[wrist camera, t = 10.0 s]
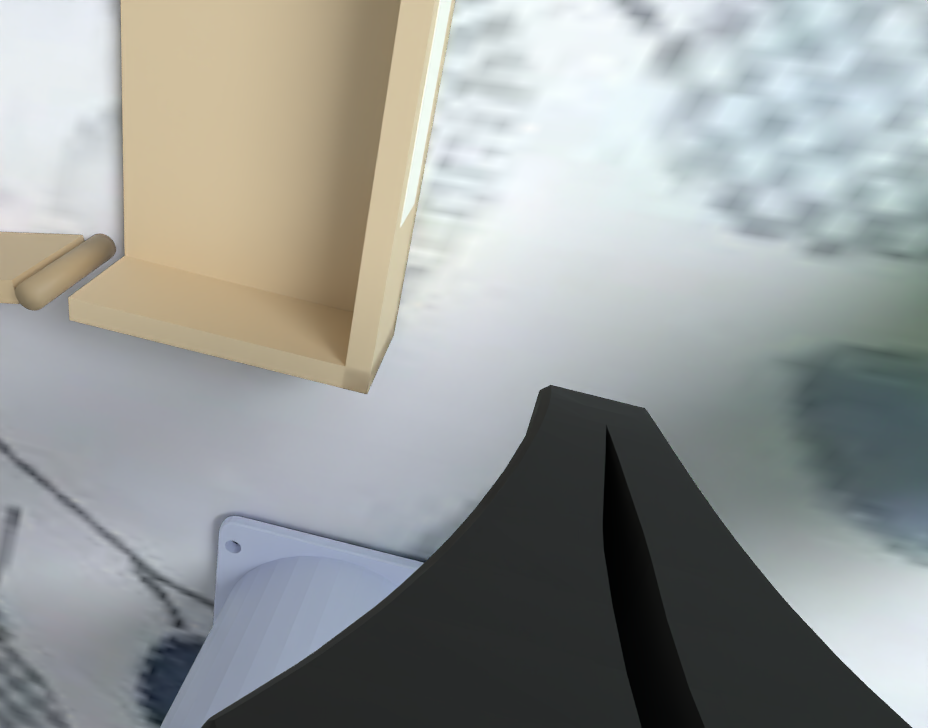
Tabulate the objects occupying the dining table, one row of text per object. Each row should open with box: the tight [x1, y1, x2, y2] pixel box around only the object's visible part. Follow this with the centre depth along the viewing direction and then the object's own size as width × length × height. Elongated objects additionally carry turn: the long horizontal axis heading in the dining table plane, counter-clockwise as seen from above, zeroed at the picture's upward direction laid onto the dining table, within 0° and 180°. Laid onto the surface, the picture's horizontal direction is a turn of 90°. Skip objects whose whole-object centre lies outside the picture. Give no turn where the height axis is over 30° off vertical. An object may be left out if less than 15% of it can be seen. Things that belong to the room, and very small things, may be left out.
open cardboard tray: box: [68, 0, 455, 394], centre depth 16 cm, size 14×7×3 cm, turn 168°
